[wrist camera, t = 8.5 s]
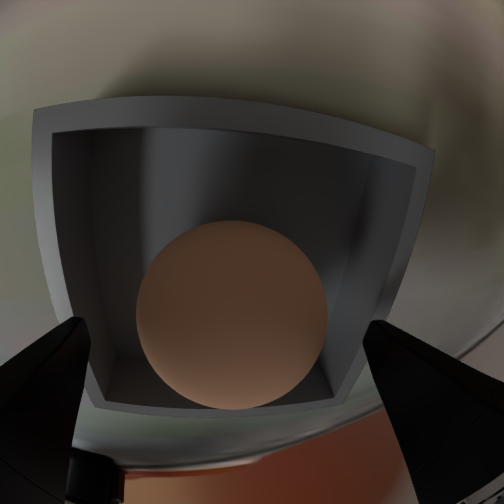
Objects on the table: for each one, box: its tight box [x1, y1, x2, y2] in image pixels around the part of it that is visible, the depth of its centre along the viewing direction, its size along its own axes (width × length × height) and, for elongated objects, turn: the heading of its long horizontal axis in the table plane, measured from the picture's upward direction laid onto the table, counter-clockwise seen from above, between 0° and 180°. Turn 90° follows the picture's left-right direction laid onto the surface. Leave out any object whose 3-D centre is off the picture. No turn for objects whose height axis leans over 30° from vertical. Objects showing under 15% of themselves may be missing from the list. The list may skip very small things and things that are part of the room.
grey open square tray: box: [31, 96, 435, 418], centre depth 10 cm, size 13×13×4 cm
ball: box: [136, 220, 328, 410], centre depth 9 cm, size 6×6×6 cm
